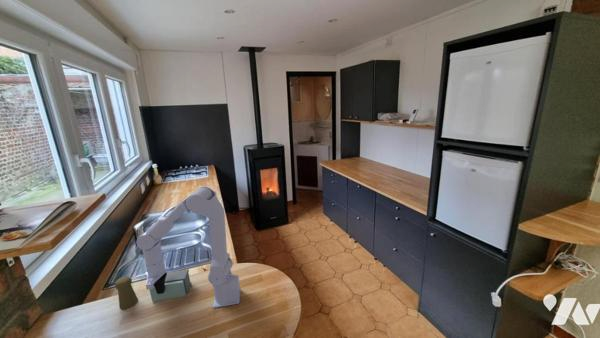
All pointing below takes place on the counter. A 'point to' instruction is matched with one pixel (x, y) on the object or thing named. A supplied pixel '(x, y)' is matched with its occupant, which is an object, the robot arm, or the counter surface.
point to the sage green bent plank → (169, 291)
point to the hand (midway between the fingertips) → (161, 292)
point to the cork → (125, 293)
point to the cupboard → (179, 278)
